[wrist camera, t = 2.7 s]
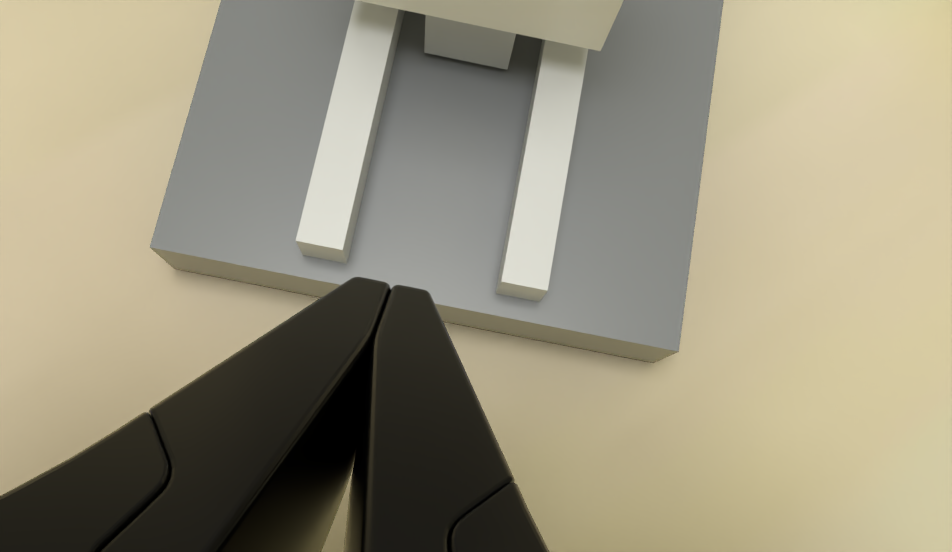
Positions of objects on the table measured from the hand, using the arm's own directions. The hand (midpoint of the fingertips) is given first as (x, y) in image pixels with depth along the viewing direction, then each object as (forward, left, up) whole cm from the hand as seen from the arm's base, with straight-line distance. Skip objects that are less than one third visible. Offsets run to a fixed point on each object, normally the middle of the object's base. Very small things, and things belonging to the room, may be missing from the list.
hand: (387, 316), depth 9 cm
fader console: (+9, +4, -11) cm, 15 cm away
